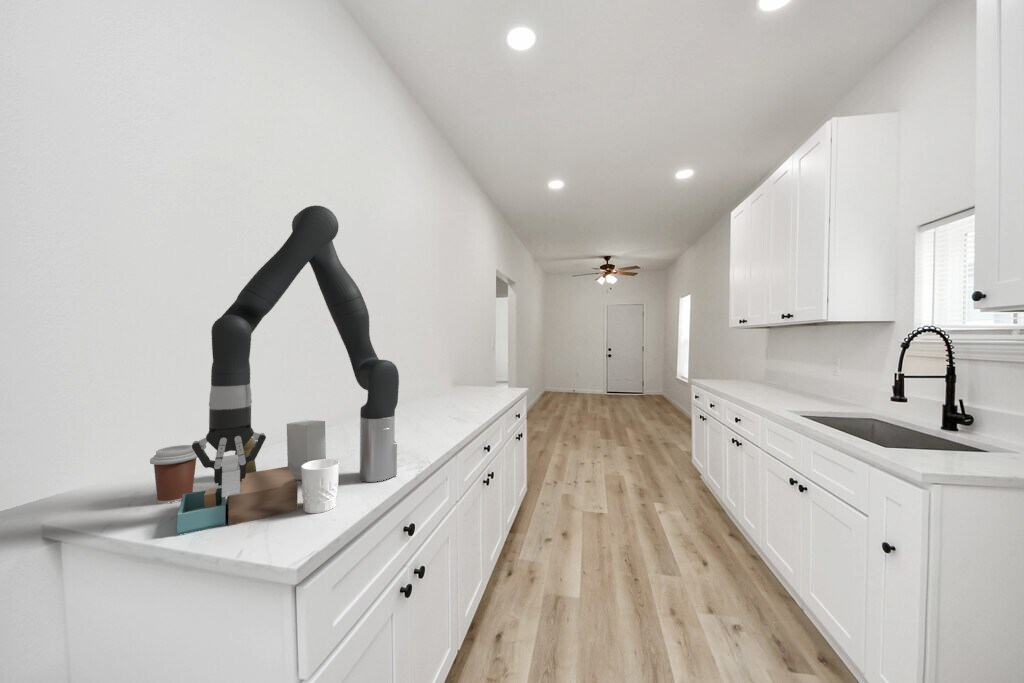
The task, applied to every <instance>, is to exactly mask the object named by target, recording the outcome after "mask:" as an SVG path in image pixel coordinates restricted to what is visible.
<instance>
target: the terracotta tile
mask: <svg viewBox="0 0 1024 683" xmlns="http://www.w3.org/2000/svg"><path fill="white" fill-rule="evenodd" d="M218 488H219V487H218V486H216V487H211V488H206V489H205V490H206V492H205V494H204V508H209V507H215V506H218V505H219V504H218Z"/></svg>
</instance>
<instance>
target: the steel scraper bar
mask: <svg viewBox="0 0 1024 683" xmlns="http://www.w3.org/2000/svg"><path fill="white" fill-rule="evenodd" d="M221 466H222V485H221V487H222V497H225V498H226V497H227V496H232V495H237V494H240V466H239V460H238V455H235V454H233V455H223V459H222V464H221Z"/></svg>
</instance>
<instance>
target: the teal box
mask: <svg viewBox="0 0 1024 683" xmlns="http://www.w3.org/2000/svg"><path fill="white" fill-rule="evenodd" d="M206 490H207V489H204V490H198V491H193V492H192V493H186V494H183V495H182V499H181V501H180V504H179V508H178V512H177V517H176V518H177V523H176V524H177V528H176V532H177V534H176V535H178V536H181V535H180V534H182V535H185V534H184V533H187V534H191V533H195V531H196V532H199V530H200V531H205V530H208V529H212V528H217V527H218V528H219V527H221V526H222V527H223V526H226V508H227V507H226V504H227V503H226V497H222V486H221V487H220V486H219V487H218V504H219V505H218V506H215V507H210V508H205V509H204V494H205V492H206ZM199 509H200V510H199ZM194 510H195V511H194ZM189 511H190V512H189Z"/></svg>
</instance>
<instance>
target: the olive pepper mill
mask: <svg viewBox="0 0 1024 683" xmlns="http://www.w3.org/2000/svg"><path fill="white" fill-rule="evenodd" d="M253 439H254V438H253V437H251V438H250V440H249V441H248V442H247V443H246V445H245V446H244V447H243V450H244V455H245V456H247V455H249V454H250V452H251V450H252V448H253V446H254V444H255V443H254V441H253ZM234 452H235V453H234V455H238V454H237V451H234ZM238 460H239V459H238ZM251 472H257V467H256V459H255V460H254V461H250V462H248V463H247V464H246V473H251Z"/></svg>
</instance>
